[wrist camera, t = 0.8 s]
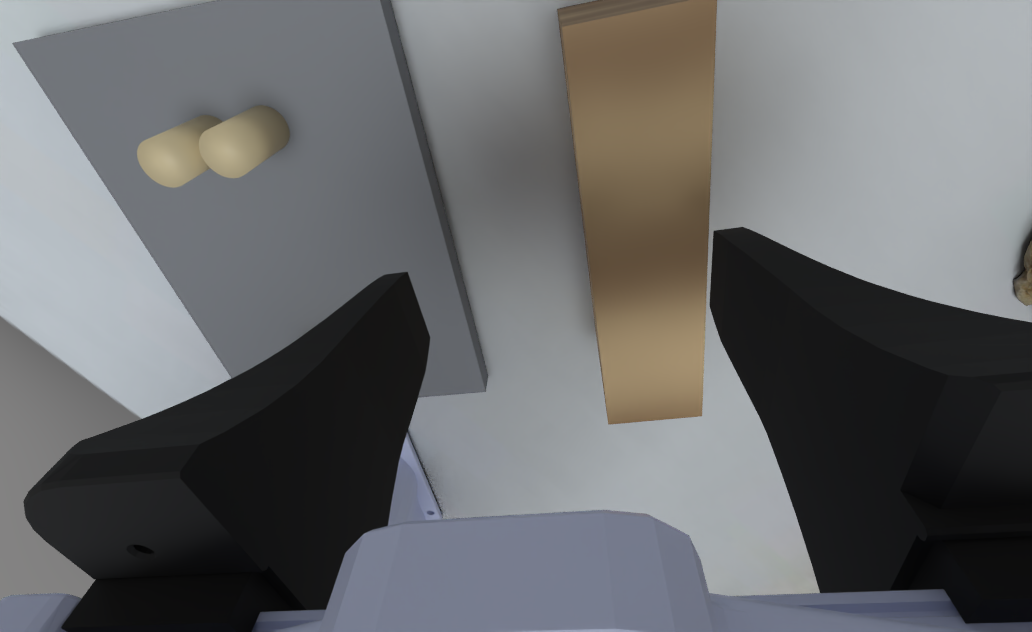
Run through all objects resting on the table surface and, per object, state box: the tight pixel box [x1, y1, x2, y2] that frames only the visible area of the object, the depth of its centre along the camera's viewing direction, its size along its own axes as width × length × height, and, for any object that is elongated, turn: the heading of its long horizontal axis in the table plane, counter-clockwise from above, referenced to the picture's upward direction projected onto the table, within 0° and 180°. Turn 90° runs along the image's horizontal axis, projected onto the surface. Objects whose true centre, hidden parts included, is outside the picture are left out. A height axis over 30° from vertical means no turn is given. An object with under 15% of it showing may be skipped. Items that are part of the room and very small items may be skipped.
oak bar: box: [557, 0, 717, 424], centre depth 18 cm, size 14×4×6 cm, turn 11°
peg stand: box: [12, 0, 488, 397], centre depth 21 cm, size 18×13×4 cm
